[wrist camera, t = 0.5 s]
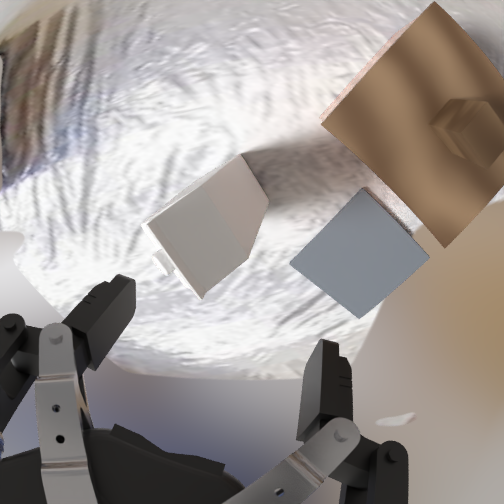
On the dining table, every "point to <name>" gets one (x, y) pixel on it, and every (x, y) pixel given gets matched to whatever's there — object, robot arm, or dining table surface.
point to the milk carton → (209, 226)
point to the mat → (360, 255)
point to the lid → (430, 123)
